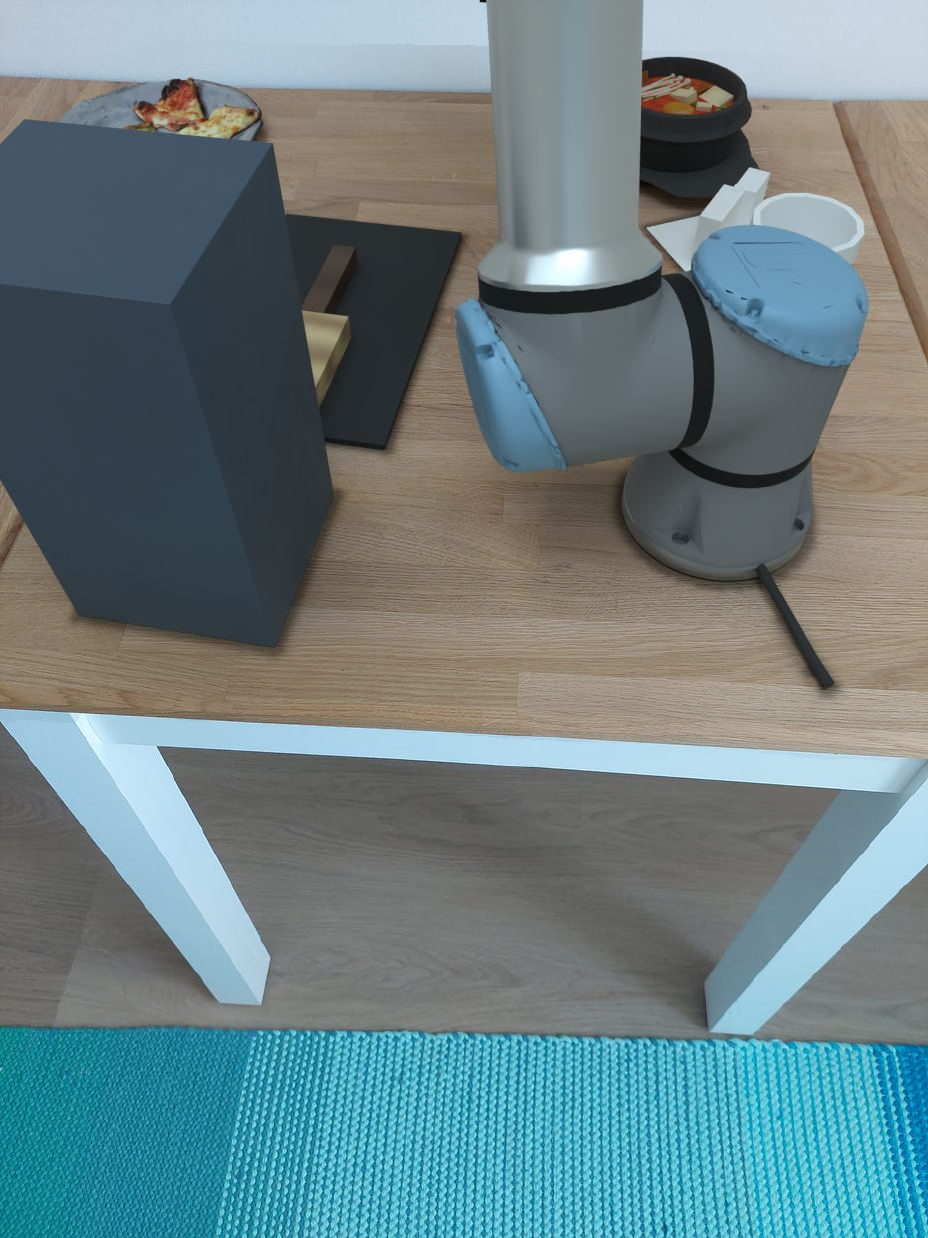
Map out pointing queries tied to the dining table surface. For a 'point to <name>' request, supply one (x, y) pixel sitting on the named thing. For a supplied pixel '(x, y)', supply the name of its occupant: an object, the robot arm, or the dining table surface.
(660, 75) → the casserole
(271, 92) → the dining table surface
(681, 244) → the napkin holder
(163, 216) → the pedestal
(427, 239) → the mat
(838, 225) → the foam cup
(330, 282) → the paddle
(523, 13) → the robot arm
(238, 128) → the food plate
